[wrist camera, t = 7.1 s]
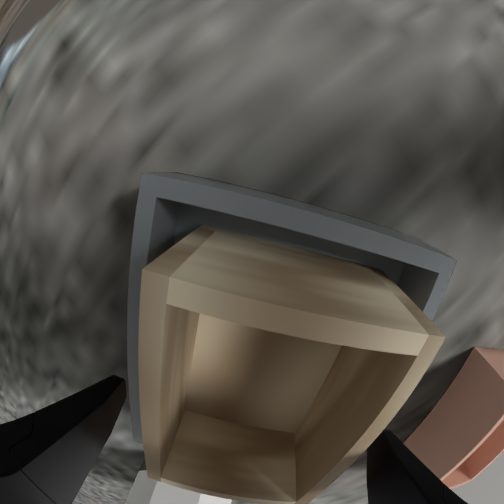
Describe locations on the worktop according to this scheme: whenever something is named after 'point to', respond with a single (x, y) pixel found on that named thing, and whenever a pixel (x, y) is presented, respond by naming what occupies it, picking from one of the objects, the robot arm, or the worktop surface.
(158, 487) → the wine bottle
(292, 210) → the charcoal crate
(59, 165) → the worktop surface
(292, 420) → the birch crate
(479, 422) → the terracotta crate
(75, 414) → the robot arm
